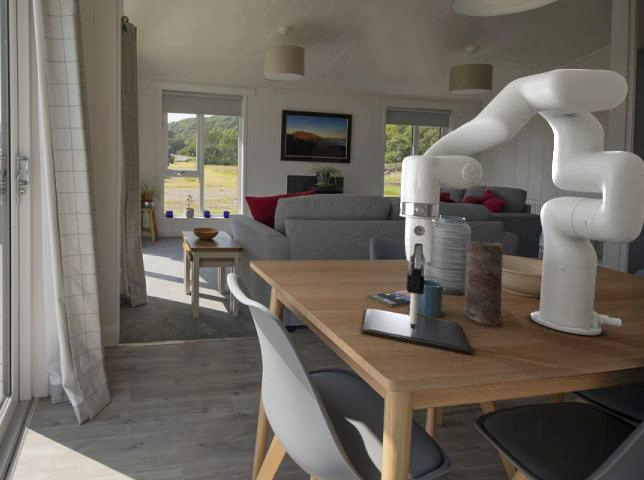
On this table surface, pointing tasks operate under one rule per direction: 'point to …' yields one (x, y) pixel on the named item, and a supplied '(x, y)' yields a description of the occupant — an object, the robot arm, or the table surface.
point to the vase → (449, 254)
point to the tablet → (415, 330)
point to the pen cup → (431, 299)
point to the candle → (483, 282)
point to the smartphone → (393, 297)
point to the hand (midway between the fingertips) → (414, 291)
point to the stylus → (413, 310)
